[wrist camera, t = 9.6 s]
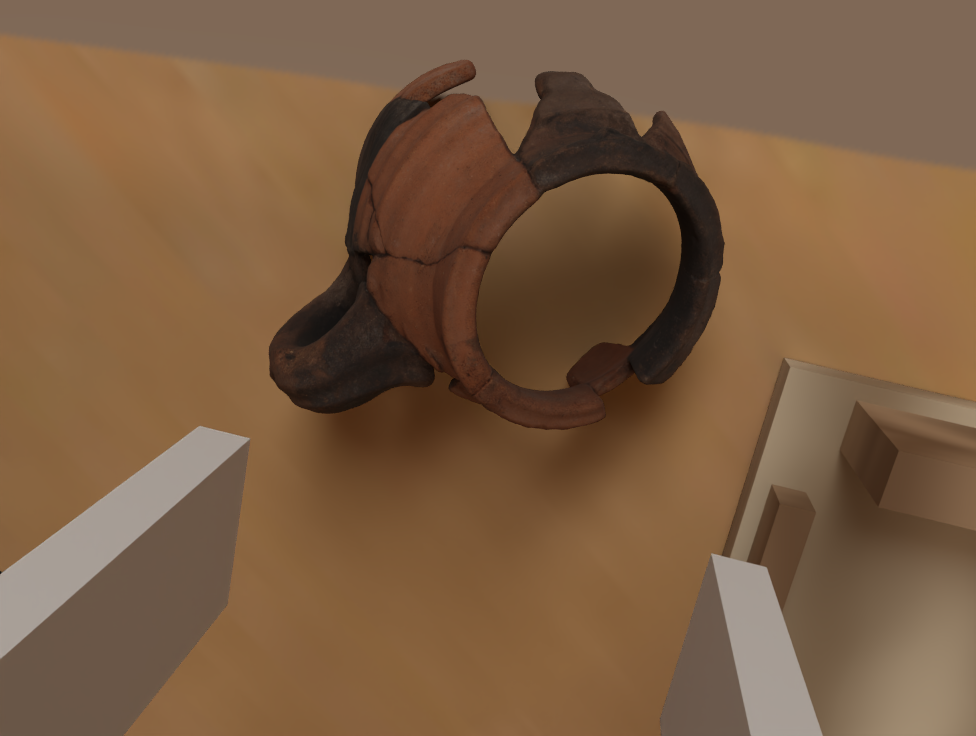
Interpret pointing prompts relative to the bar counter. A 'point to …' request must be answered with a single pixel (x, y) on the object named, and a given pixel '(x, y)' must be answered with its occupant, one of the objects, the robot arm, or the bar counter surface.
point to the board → (869, 547)
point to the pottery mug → (485, 251)
